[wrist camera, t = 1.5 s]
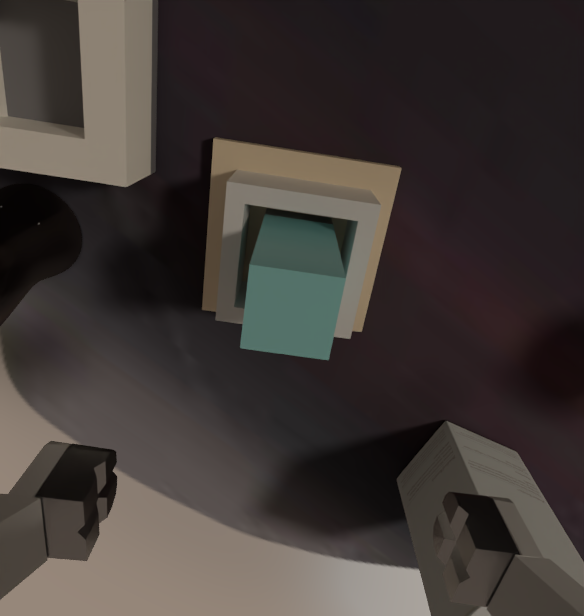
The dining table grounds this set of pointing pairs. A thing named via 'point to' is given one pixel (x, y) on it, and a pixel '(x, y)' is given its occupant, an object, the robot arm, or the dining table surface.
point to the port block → (79, 88)
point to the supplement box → (480, 481)
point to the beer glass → (33, 241)
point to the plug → (293, 286)
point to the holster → (300, 199)
